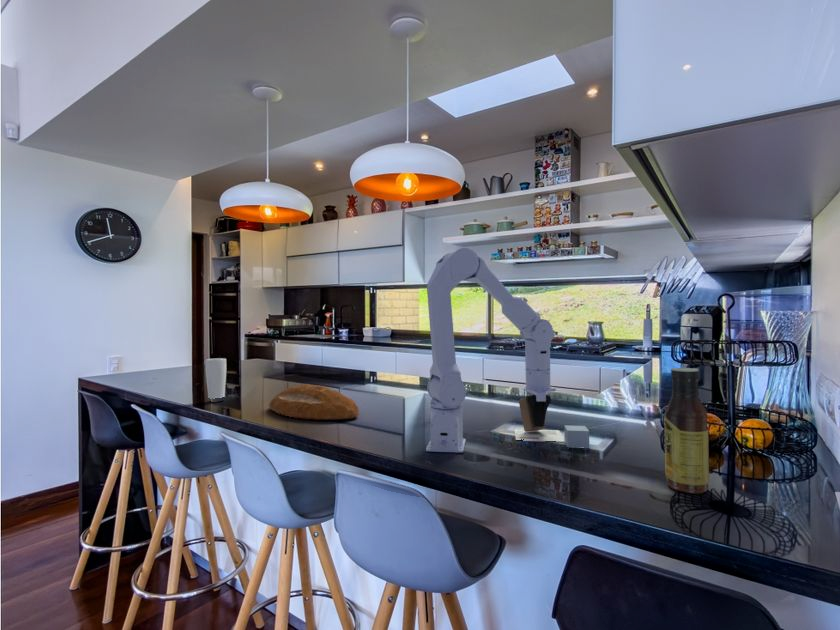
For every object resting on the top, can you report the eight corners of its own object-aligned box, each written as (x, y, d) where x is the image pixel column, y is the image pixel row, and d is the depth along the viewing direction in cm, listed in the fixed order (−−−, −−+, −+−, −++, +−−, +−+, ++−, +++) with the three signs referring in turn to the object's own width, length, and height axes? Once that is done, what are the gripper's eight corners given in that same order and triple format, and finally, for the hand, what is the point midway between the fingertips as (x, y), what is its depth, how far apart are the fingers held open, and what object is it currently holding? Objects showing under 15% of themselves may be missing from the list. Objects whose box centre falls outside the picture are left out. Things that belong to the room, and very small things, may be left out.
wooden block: (523, 432, 111) (517, 399, 113) (538, 430, 112) (531, 398, 115) (532, 430, 107) (525, 396, 110) (546, 428, 108) (539, 395, 111)
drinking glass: (207, 400, 161) (206, 358, 161) (228, 399, 163) (227, 357, 163) (204, 404, 154) (203, 360, 154) (225, 402, 156) (225, 359, 156)
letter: (565, 442, 102) (565, 441, 102) (516, 440, 104) (516, 440, 104) (559, 430, 112) (559, 430, 112) (514, 429, 114) (514, 429, 114)
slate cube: (589, 449, 97) (589, 431, 97) (567, 448, 98) (567, 430, 98) (585, 443, 101) (585, 425, 101) (564, 442, 102) (564, 425, 102)
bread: (331, 428, 119) (330, 394, 119) (251, 413, 140) (251, 384, 140) (374, 415, 134) (374, 385, 134) (297, 403, 154) (296, 377, 154)
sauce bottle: (669, 478, 79) (667, 365, 79) (711, 486, 75) (710, 367, 75) (661, 490, 74) (659, 369, 74) (706, 499, 70) (704, 372, 70)
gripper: (559, 373, 99) (560, 434, 99) (551, 365, 114) (552, 419, 114) (526, 373, 101) (527, 433, 101) (522, 365, 115) (523, 418, 115)
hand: (538, 426), depth 107 cm, fingers closed
